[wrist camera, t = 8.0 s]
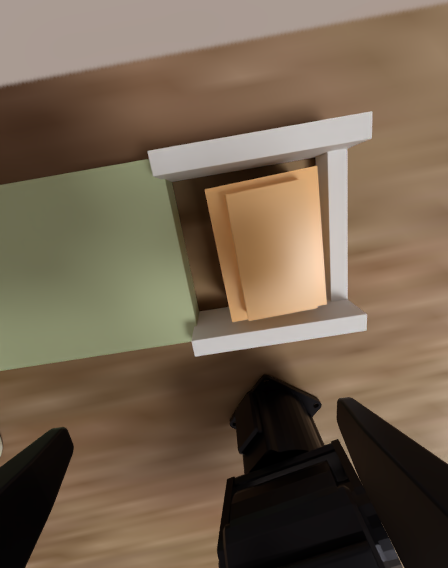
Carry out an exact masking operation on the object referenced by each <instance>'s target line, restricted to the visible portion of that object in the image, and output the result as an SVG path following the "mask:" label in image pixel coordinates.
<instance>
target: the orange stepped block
mask: <svg viewBox="0 0 448 568" xmlns="http://www.w3.org/2000/svg"><path fill="white" fill-rule="evenodd" d="M205 194H206V199H207V204H208V208H209V213H210V218H211V223H212V228H213V232H214V237H215V242H216V247H217V252H218V256H219V261H220V266H221V271H222V276H223V280H224V285H225V290H226V295H227V300H228V304H229V309H230V314H231V319H232V322H237V321H242V320H247V319H248V320H249V321H252V320H258V319H263V318H268V317H274V316H279V315H284V314H289V313H295V312H300V311H305V310H311V309H316V308H318V306H321V305H327V299H326V284H325V270H324V255H323V241H322V227H321V212H320V198H319V183H318V169H317V166H313V167H309V168H304V169H299V170H294V171H290V172H285V173H280V174H275V175H271V176H266V177H261V178H256V179H252V180H247V181H242V182H237V183H233V184H228V185H223V186H219V187H214V188H209V189H205Z"/></svg>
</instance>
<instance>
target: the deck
mask: <svg viewBox="0 0 448 568" xmlns="http://www.w3.org/2000/svg"><path fill="white" fill-rule="evenodd" d="M371 138H372V111H371V112H366V113H360V114H354V115H349V116H343V117H337V118H331V119H326V120H320V121H314V122H309V123H303V124H297V125H292V126H286V127H280V128H275V129H269V130H263V131H258V132H252V133H246V134H241V135H235V136H229V137H224V138H218V139H212V140H207V141H201V142H195V143H190V144H184V145H178V146H173V147H167V148H161V149H156V150H150V151H148V156H149V159H146V160H140V161H134V162H129V163H123V164H117V165H112V166H106V167H100V168H94V169H89V170H83V171H77V172H72V173H66V174H60V175H55V176H49V177H43V178H37V179H32V180H26V181H20V182H15V183H9V184H3V185H0V371H3V370H10V369H16V368H23V367H29V366H36V365H42V364H49V363H55V362H62V361H68V360H75V359H81V358H88V357H94V356H101V355H107V354H114V353H120V352H127V351H133V350H140V349H146V348H153V347H159V346H166V345H172V344H179V343H185V342H192V346H193V350H194V354H195V357H196V356H202V355H209V354H215V353H222V352H229V351H235V350H242V349H248V348H255V347H261V346H268V345H275V344H281V343H288V342H294V341H301V340H307V339H314V338H321V337H327V336H334V335H340V334H347V333H353V332H360V331H366V330H367V314H366V313H365V312H364V311H362V310H361V309H360V308H358V307H357V306H356V305H354V304H353V303H352V302H350V301H349V300H348V268H347V148H350V147H352V146H354V145H357V144H359V143H362V142H364V141H367V140H369V139H371ZM309 158H315V162H316V166H317V169H318V183H319V198H320V212H321V227H322V241H323V255H324V270H325V284H326V299H327V305H321V306H318V308H316V309H311V310H305V311H300V312H295V313H289V314H284V315H279V316H274V317H268V318H263V319H258V320H252V321H249V320H248V319H247V320H242V321H237V322H232V319H231V314H230V309H229V307H225V308H218V309H212V310H206V311H199V308H198V303H197V298H196V293H195V289H194V284H193V279H192V275H191V270H190V265H189V260H188V256H187V251H186V246H185V241H184V237H183V232H182V227H181V222H180V218H179V213H178V208H177V203H176V199H175V194H174V189H173V184H172V182H175V181H181V180H187V179H193V178H199V177H204V176H210V175H216V174H222V173H228V172H233V171H239V170H245V169H251V168H257V167H262V166H268V165H274V164H280V163H286V162H291V161H297V160H303V159H309Z"/></svg>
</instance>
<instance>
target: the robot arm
mask: <svg viewBox="0 0 448 568" xmlns="http://www.w3.org/2000/svg"><path fill="white" fill-rule="evenodd" d="M265 380H268V381H266V382H265ZM314 404H315V405H314ZM320 408H321V403H320V401H319V399H317V398H315V397H313V396H311V395H309V394H307V393H305V392H303V391H301V390H298V389H296V388H294V387H292V386H290V385H288V384H286V383H284V382H282V381H280V380H278V379H276V378H274V377H271V376H269V375H263V376H262V377H261V378H260V379H259V381H258V382H257V383H256V385H255V386H254V387H253V389H252V390H251V391H250V392H248V393H247V395H246V396H245V398H244V399H243V400H242V402H241V403H240V404H239V406H238V407H237V408H236V410H235V413H234V415H233V416H232V417H231V419H230V426H231V427H232V428H234V429H236V432H237V444H238V451H239V453H240V454H242V455H243V464H244V475H241V476H238V477H236V478H235V477H231V478H229V479H227V484H226V490H225V497H224V504H223V511H222V518H221V524H220V531H219V539H218V546H217V554H218V559H219V568H403V567H402V565H401V563H400V560H401V562H402V564H403V566H404V568H448V464H447V463H446V462H444V461H443V460H441V459H440V458H438V457H437V456H435V455H434V454H433V453H431V452H430V451H428V450H427V449H425V448H424V447H422V446H421V445H420V444H418V443H417V442H415V441H414V440H412V439H411V438H409V437H408V436H407V435H405V434H404V433H402V432H401V431H399V430H398V429H396V428H395V427H394V426H392V425H391V424H389V423H388V422H386V421H385V420H383V419H382V418H381V417H379V416H378V415H376V414H375V413H373V412H372V411H370V410H369V409H367V408H366V407H365V406H363V405H362V404H360V403H359V402H357V401H356V400H354V399H353V398H351V397H347V398H339V399H338V401H337V423H338V426H339V429H340V431H341V434H342V436H343V439H344V441H345V444H346V446H347V449H348V451H349V454H350V456H351V459H352V461H353V464H354V466H355V469H356V471H357V474H358V476H359V478H358V476H357V474H356V472H355V470H354V468H353V466H352V464H351V463H350V461H349V459H348V457H347V455H346V453H345V451H344V449H343V447H342V446H341V444H340V442H339V440H338V439H336V440H334V441H331V443H330V444H327V445H324V443H323V441H322V438H321V436H320V434H319V432H318V429H317V427H316V425H315V423H314V420H313V418H312V417H313V416H314V415H315V413H316V412H317V411H318V410H319V409H320ZM234 422H236V423H234ZM73 449H74V446H73V442H72V440H71V437H70V435H69V432H68V430H67V429H66V428H65V427H60V428H53V429H51V430H49V431H48V432H46V433H45V434H44V435H42V436H41V437H40V438H38V439H37V440H36V441H34V442H33V443H32V444H30V445H29V446H28V447H27V448H25V449H24V450H23V451H21V452H20V453H19V454H17V455H16V456H15V457H13V458H12V459H11V460H9V461H8V462H7V463H5V464H4V465H3V466H1V467H0V568H25V567H26V564H27V562H28V560H29V558H30V556H31V554H32V551H33V549H34V547H35V545H36V543H37V541H38V538H39V536H40V534H41V532H42V530H43V528H44V525H45V523H46V521H47V519H48V517H49V514H50V512H51V510H52V507H53V505H54V502H55V500H56V497H57V495H58V492H59V489H60V486H61V484H62V481H63V478H64V476H65V473H66V470H67V468H68V465H69V462H70V459H71V457H72V454H73ZM381 522H382V523H381ZM382 524H383V525H382ZM383 526H384V527H383ZM384 528H385V529H384ZM385 530H386V531H385ZM386 532H387V533H386ZM387 534H388V535H387ZM388 536H389V537H388ZM389 538H390V539H389ZM390 540H391V541H390ZM391 542H392V543H391ZM392 544H393V545H392ZM393 546H394V547H393ZM394 548H395V550H396V552H397V554H398V556H399V558H400V560H399V558H398V556H397V554H396V552H395V550H394Z"/></svg>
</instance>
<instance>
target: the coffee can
mask: <svg viewBox="0 0 448 568" xmlns="http://www.w3.org/2000/svg"><path fill="white" fill-rule="evenodd" d="M2 448H3V445H2V440H1V436H0V456H1V454H2Z"/></svg>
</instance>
